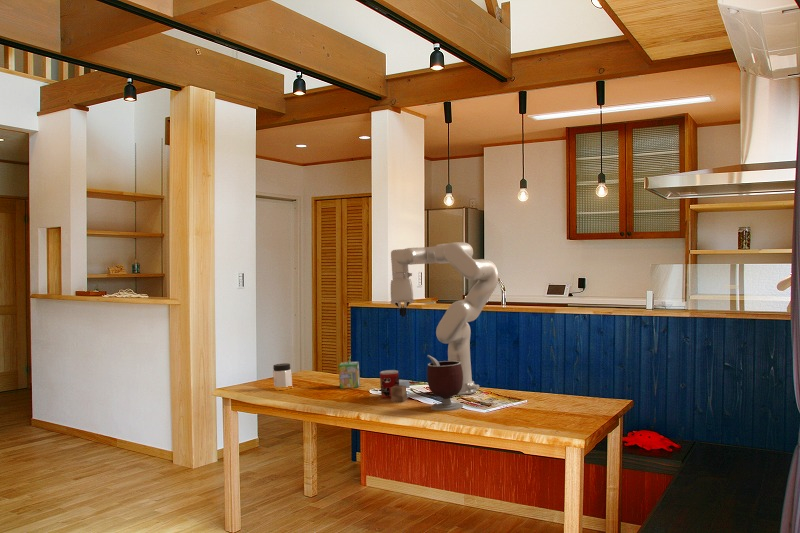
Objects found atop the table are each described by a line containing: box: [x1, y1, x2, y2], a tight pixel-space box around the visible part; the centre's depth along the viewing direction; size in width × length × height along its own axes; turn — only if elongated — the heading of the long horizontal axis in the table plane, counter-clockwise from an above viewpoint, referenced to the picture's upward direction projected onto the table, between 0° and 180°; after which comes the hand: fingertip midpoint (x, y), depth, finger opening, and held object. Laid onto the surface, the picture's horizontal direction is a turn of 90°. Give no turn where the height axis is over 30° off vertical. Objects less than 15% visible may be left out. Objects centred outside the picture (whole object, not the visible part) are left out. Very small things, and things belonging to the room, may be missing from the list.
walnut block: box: [390, 386, 408, 403], centre depth 279 cm, size 5×5×6 cm
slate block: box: [399, 379, 411, 388], centre depth 299 cm, size 6×6×5 cm
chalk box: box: [338, 355, 361, 390], centre depth 321 cm, size 9×9×15 cm
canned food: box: [379, 369, 400, 400], centre depth 289 cm, size 8×8×11 cm
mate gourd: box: [426, 354, 464, 412], centre depth 260 cm, size 16×14×20 cm
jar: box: [272, 362, 293, 387], centre depth 328 cm, size 9×8×12 cm
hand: (403, 316), depth 305 cm, fingers closed
